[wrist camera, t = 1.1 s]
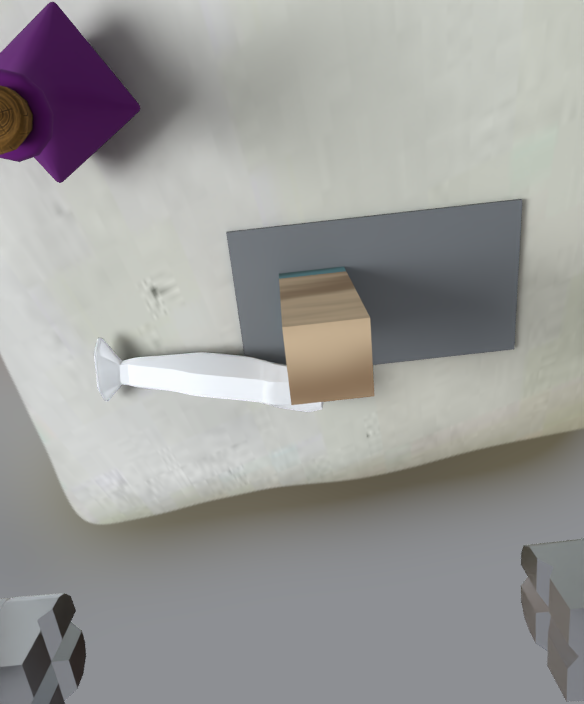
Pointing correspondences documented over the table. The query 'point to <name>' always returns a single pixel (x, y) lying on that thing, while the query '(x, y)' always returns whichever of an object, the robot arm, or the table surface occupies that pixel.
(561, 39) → the table surface
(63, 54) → the perfume bottle
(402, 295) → the rubber mat
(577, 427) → the table surface
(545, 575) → the robot arm
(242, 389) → the white fish figurine
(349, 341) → the oak block
